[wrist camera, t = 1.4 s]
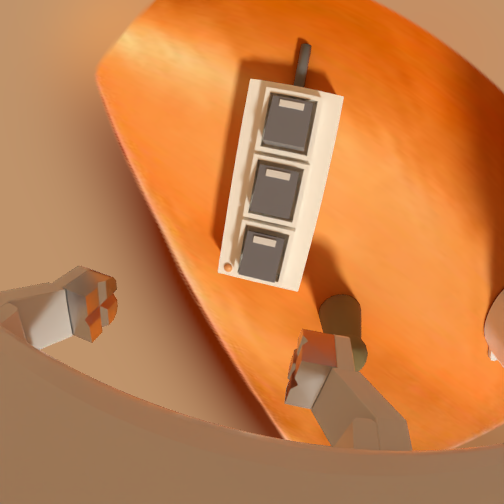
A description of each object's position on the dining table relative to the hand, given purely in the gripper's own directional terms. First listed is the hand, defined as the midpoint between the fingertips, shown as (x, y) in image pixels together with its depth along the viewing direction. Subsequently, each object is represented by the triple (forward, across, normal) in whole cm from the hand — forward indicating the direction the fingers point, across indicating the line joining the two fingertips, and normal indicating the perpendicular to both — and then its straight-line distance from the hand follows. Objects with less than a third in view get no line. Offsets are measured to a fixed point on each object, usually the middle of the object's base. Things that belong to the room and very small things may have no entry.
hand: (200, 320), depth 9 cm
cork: (+30, -12, +16) cm, 35 cm away
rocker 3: (+23, 0, +7) cm, 24 cm away
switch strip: (+29, 0, -3) cm, 29 cm away
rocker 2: (+23, 0, 0) cm, 23 cm away
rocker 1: (+23, 0, -7) cm, 24 cm away
